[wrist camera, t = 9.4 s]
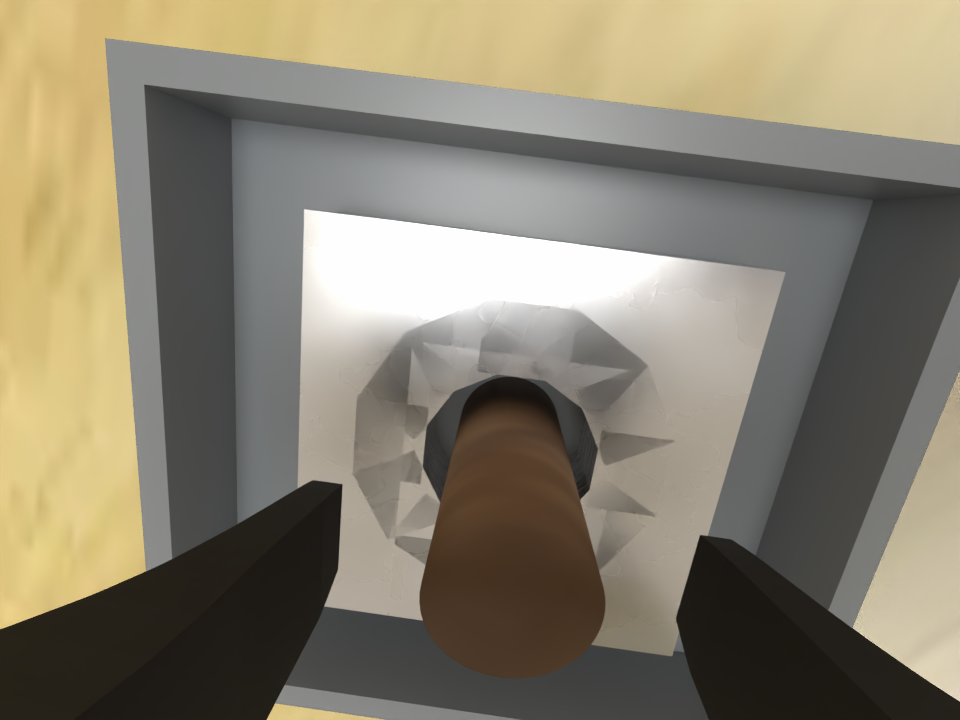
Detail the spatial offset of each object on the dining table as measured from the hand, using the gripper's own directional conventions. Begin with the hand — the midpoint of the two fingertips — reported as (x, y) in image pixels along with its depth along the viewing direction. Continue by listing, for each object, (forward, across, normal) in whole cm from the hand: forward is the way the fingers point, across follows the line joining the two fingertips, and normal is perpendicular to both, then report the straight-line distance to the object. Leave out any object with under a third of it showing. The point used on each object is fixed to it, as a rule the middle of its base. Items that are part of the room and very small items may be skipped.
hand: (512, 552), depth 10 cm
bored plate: (+8, 0, 0) cm, 8 cm away
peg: (+7, 0, 0) cm, 7 cm away
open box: (+8, 0, 0) cm, 8 cm away
